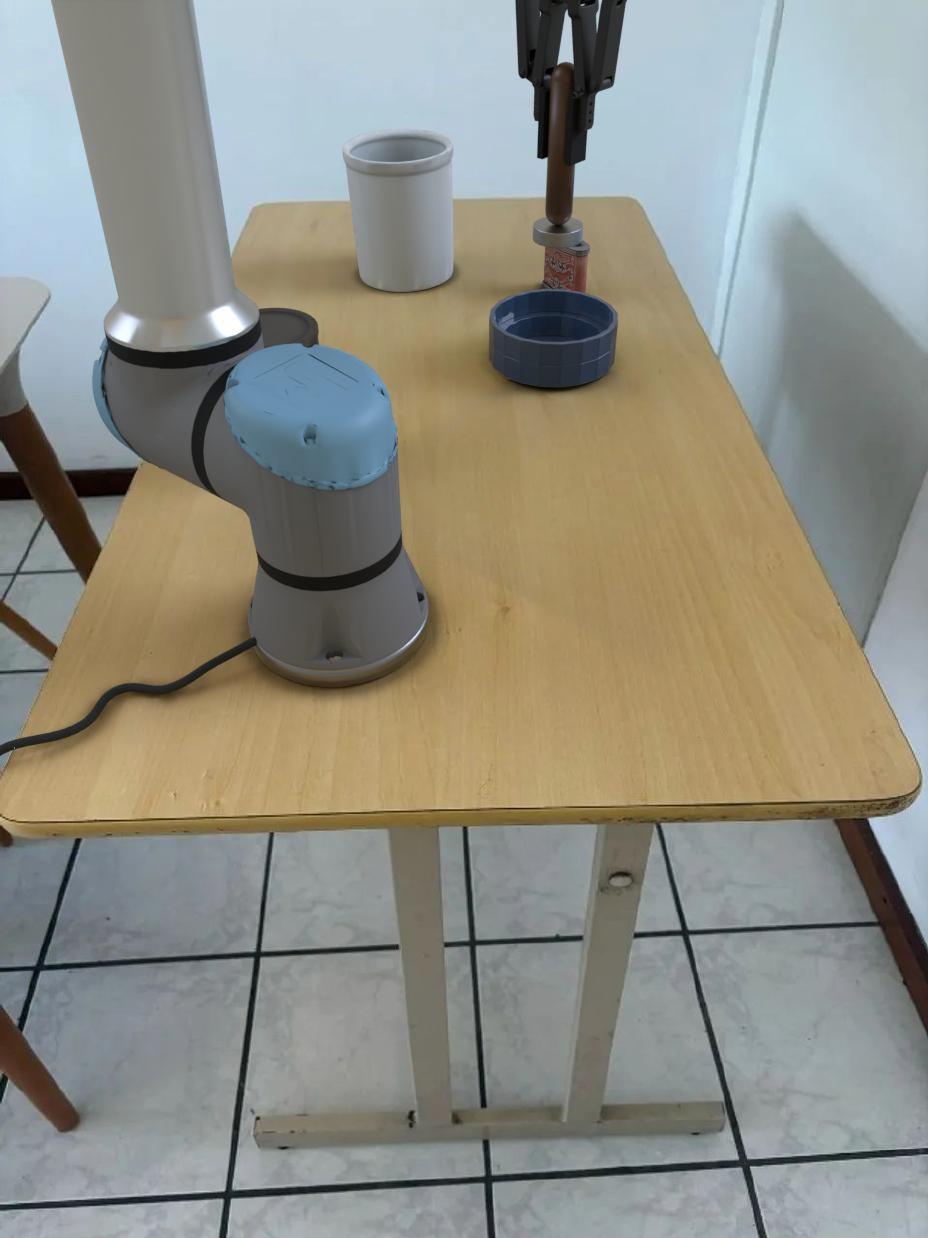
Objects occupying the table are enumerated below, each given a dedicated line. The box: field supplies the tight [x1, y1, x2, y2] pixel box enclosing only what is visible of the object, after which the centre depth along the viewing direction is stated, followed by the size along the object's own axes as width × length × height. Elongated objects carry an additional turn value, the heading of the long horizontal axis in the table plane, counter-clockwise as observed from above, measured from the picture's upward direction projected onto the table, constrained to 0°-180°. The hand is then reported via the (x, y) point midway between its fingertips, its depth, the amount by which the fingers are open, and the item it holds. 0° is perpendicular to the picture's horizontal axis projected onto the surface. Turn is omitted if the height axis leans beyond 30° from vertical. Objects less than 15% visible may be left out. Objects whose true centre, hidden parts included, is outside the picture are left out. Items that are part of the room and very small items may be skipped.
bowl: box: [488, 288, 619, 388], centre depth 116 cm, size 15×15×6 cm
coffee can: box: [258, 307, 320, 348], centre depth 98 cm, size 10×10×14 cm
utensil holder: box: [341, 128, 454, 293], centre depth 133 cm, size 15×15×18 cm
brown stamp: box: [532, 61, 584, 248], centre depth 102 cm, size 6×6×18 cm
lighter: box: [541, 239, 591, 293], centre depth 129 cm, size 8×3×10 cm, turn 34°
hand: (561, 158), depth 102 cm, fingers closed on brown stamp, 3 cm apart
